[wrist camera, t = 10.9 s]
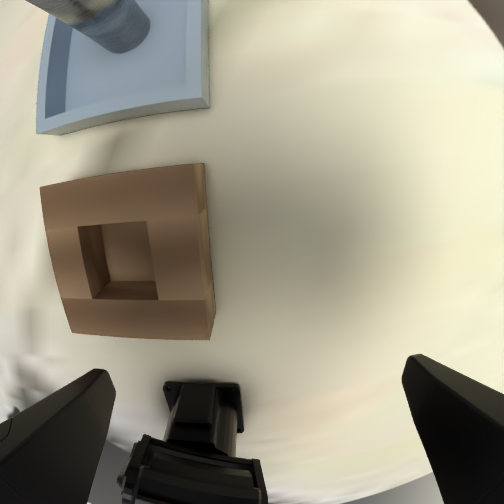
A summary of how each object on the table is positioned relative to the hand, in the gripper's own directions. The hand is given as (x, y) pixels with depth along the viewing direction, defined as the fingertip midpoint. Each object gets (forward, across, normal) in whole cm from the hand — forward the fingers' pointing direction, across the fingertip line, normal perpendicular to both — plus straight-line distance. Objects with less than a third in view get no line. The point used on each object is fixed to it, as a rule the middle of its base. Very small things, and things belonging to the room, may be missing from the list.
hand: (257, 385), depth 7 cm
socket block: (+12, +8, -1) cm, 14 cm away
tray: (+12, +8, -16) cm, 21 cm away
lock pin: (+11, +8, -16) cm, 21 cm away
